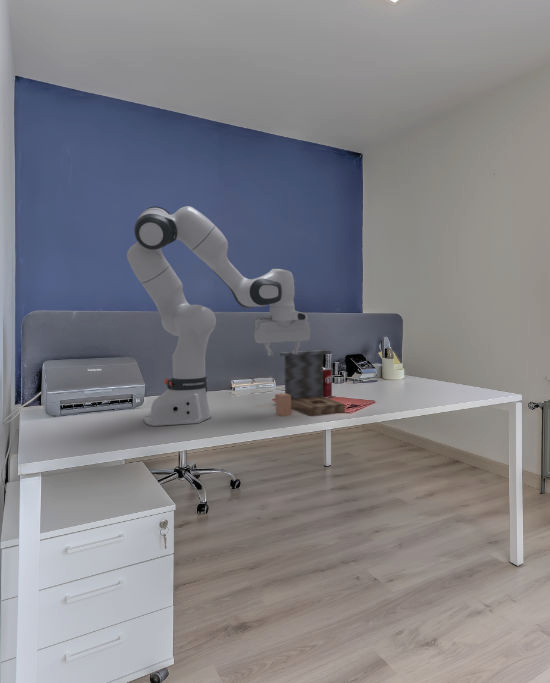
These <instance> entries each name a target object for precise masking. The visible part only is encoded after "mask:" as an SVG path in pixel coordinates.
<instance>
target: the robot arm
mask: <svg viewBox="0 0 550 683" xmlns="http://www.w3.org/2000/svg"><path fill="white" fill-rule="evenodd" d="M133 229H134V230H133V231H134V236H135V237H134V238H135V240H136V241H137V242H135V243H134V244H133V245H131V246H130V247H129V249H128V250H127V253H126V258H127V261H128V264H129V265H130V268H131V269H132V271H133V273H134V275H135V276H136V278H137V280H138V281H139V283H140V284H141V286H143V288H144V290H145V292H147V294H148V295H149V297H150V298H151V300H152V301H153V303H154V304H155V305H154V306H156V309H157V311H158V313H159V315H160V318H161V325H162V328H163V329H164V331H166V332H168V333H169V334H170V335H173V336H175V337H178V340H177V345H176V347H175V351H174V352H173V353H172V357H171V358H172V377H171V378H164V380H163V383H164V384H165V385H167V389H166V390H164V392H162V393H161V394H160V395H159V396H157V398H155V399H154V400H153V401H152V403H151V408H150V414H146V415H145V416H144V417H143V418H144V420H143V421H144V423H145V424H146V425H149V426H152V427H153V426H154V427H158V426H161V427H162V426H174V425H188V424H199V423H201V422H203V421H205V420H208V419H210V418H211V417H212V414H211V411H210V408H209V407H210V406H209V402H208V394H207V393H208V378H207V376H206V353H207V347H208V342H209V338H210V336H211V334H212V333H213V331H214V330H215V328H216V325H217V318H216V315H215V313H214V311H213V310H212V309H211V308H208V307H206V306H205V305H201V304H190V303H189V302H188V301H187V299H186V296H185V294H184V290H183V288H184V285H183V283H182V282H183V281H181V279H180V278H179V277H178V275H177V273H176V272H175V271H174V268H173V267H172V266H171V264H170V263H169V261H168V260H167V259H166V257H165V255H164V253H163V251H162V248H165V247H166V246H168V245H170V244H171V243H173V242H175V241H176V240H178V241H179V242H181V243H183V245H184V246H186V247H187V248H188V249H189V250H190V251H191V252H192V253H193V254H194V255H195V256H196V257H198V258H199V259H200V260H201V262H204V263H205V264H206V265H207V266H208V267H209V268H210V269H211V270H212V271H213V273H215V275H216V276H217V277H219V279H220V280H221V281H222V282H223V283H224V284H225V285H226V287H227V288H229V290H230V292H231V293H232V295H233V297H234V298H233V299H234V300H235V301H236V303H237V305H239V306H240V307H242V308H245V309H250V308H258V307H265V306H268V305H269V315H264V316H263V315H260V316H257V318H256V319H255V320H254V327H255V329H254V341H255V342H256V343H257V344H264V347H265V349H266V351H267V356H268V357H274V350H272V349H271V347H270V346H271V343H272V344H274V343H292V342H293V343H294V348H293V349H291V352H292V354H298V351H299V348H300V346H301V343H302V342H308V341H309V340H310V338H311V329H310V323H309V322H308V319H309V316H308V314H307V313H303V312H300V311H298V310H296V308H295V307H296V306H295V302H294V301H295V300H294V299H295V294H296V292H295V280H294V276H293V273H292V272H291V271H290V270H288V269H284V268H278V267H277V268H276V267H275V268H272V269H271V270H269V271H268V272H267V273H265V274H264V275H261V276H259V277H255V278H252V279H251V278H247V277H245V276H243V274H241V272H240V271H239V269H237V268H236V267H235V266H234V265H233V264H232V263H231V262H230V260H229V258H228V249H229V242H228V240H227V238H226V236H225V235H224V234H223V232H222V231H221V230H220V228H218V227H217V225H215V224H214V223H213V222H212V221H211V220H210V219H209V218H208V217H207V216H205V214H203V213H202V212H201V211H199V210H198V209H196V208H194V207H192V206H189V205H187V206H183V207H180V208H179V209H178V210H176V212H174V213H172V214H170V212H169V211H168V210H166V209H165V208H164V207H162V206H150V207H147V208H146V209H145V210H143V212H142V213H140V215H139V216H138V217H137V219H136V222H135V225H134V228H133Z"/></svg>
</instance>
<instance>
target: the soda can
mask: <svg viewBox="0 0 550 683" xmlns="http://www.w3.org/2000/svg"><path fill="white" fill-rule="evenodd" d="M332 396H333V369H332V368H330V367H323V397H330V398H331V397H332Z"/></svg>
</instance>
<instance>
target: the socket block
mask: <svg viewBox="0 0 550 683" xmlns="http://www.w3.org/2000/svg"><path fill="white" fill-rule="evenodd" d="M330 354H331V355H332V350H330V349H315V350H313V349H312V350H298V354H292V351H279V356H280V357H284V394H285V393H286V394H289V395H291V410H292V409H293V410H295V411H298V412H300V413H302V414H304V415H308V416H310V417H314V416H321V415H331V414H339V413H346V410H345V408H346V407H345V406H346V404H345V403H344V402H340V401H337V400H335V399H331V398H326V397H323V368H324V355H330Z"/></svg>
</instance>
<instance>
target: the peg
mask: <svg viewBox="0 0 550 683" xmlns="http://www.w3.org/2000/svg"><path fill="white" fill-rule="evenodd" d="M275 414H276V415H278V416H280V417H285V416H291V415H292V408H291V395H289V394H286V393H285V392H284V393H278V394H275Z"/></svg>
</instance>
